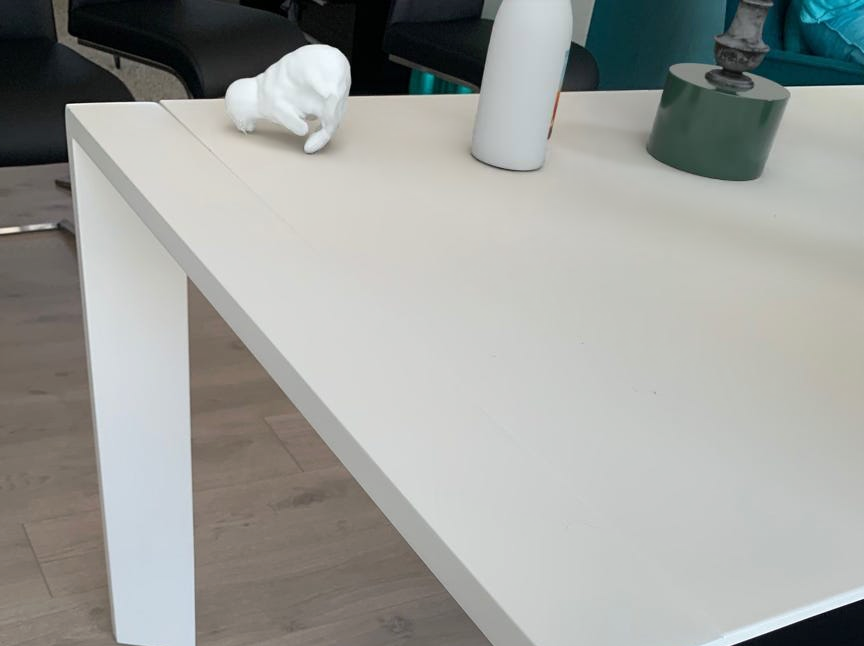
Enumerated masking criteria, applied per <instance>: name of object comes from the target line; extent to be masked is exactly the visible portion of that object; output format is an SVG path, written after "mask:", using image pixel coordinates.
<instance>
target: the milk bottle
mask: <svg viewBox="0 0 864 646" xmlns="http://www.w3.org/2000/svg"><path fill="white" fill-rule="evenodd" d="M573 18H574V17H573V9H572V2H571V0H502V2H501V3H500V6H499V7H498V10H497V13H496V15H495V19H494V22H493V25H492V30H491V34H490V39H489V44H488V48H487V53H486V58H485V64H484V69H483V75H482V80H481V86H480V91H479V97H478V102H477V106H476V107H477V108H476V113H475V119H474V123H473V130H472V136H471V141H470V142H471V143H470V151H471V154H472V156H473V157H474V158H475V159H477V160H479V161H481V162H482V163H485V164H488V165H491V166H494V167H497V168H502V169H506V170H514V171H533V170H537V169H539V168H542V166H543V164H544V163H545V162H546V161H545V160H546V157H547V153H548V150H549V145H550V141H551V136H552V131H553V127H554V123H555V119H556V115H557V111H558V106H559V102H560V98H561V97H560V96H561V92H562V88H563V83H564V80H565V79H564V78H565V73H566V68H567V64H568V61H569V60H568V59H569V55H570V50H571V45H572V43H571V42H572V37H573V30H574V29H573V27H574V26H573V25H574V24H573V23H574V19H573Z"/></svg>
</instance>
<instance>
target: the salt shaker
mask: <svg viewBox="0 0 864 646" xmlns="http://www.w3.org/2000/svg"><path fill="white" fill-rule="evenodd" d="M738 1H739V3H738V6H737V9H736V12H735V15H734V18H733V20H732V22H731V24H730V26H729V27H728V29H727V31H725V32H723V33H722V34H721V33H720V34H715V35H713V41H715V42H714V45H713V58H714V61H715V63H716V64H717V66H721V67H723V69H713V70H711V71H709V72H707V73H705V76H706V77H707V78H708V79H710V80H712V81H714V82H717V83H720V84H724V85H728V86H733V87H739V88H752V87H754V85H755V84H754V82H753V81H752V79H751V78H750V77H748V76H746V75H744V74H743V73H742V72H747V73H749V72H752V71H753V70H754V69H756V68H757V67H759V65H760V64H761V63H762V61H763V60H764V58H765V55H766V53H769V51H770V50H771V48H770V46H768V44H765V42H764V40H763V39H762V37H763V28H764V24H765V21H766V19H767V15H768V12H769V9H770V8H771V7H773V6H774V2H773V1H772V0H738Z"/></svg>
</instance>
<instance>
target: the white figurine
mask: <svg viewBox="0 0 864 646" xmlns="http://www.w3.org/2000/svg"><path fill="white" fill-rule="evenodd" d="M351 75H352V74H351V65H350V62H349V60H348V58H347V57H346V56H345V53H342V51H340V50H339V48H336V47H333V46H330V45H328V44H307V45H303V46H301V47H299V48H297V49H296V50H294V51H292V52H289V53H286V54H285V55H284V56H282V57H281V58H280V59H279V60H278V61H276V62H274V63H273V64H271V65H270V66H268V68H267V69H266V70H265V71H264V72H262V73H259V74H258V75H256V76H254V77H246V78H240V79H237V80H235V81H233V82H232V83H231V84H230V85H229V86H228V88H227V90H226V93H225V97H224V105H225V110H226V112H227V114H228V116H229V117H230V118H231V119H232V121H233V122H234V124H235V126H236V128H237V130H238V131H239V132H243V133H244V134H245V135H248V133H247V132H253V131H254V130H255V128H256V127H255V126H256V125H258V124H257V122H259V121H261V120H263V119H264V120H266V121H269V122H271V123H273V124H276V125H281V126H283V127H284V128H286V129H287V130H288V131H290V132H292V133H293V134H295V135H297V136H300V137H304V136H306V135H307V134H308V132H309V125H308V123H307V121H309V122H313V121H316V120H318V119H319V120H320V124H318V125H317V126H316V127H315V128H314V132H313V133H312V134H310V135H309V136H308V138H307V139H306V141H305V143H304V145H303V151H304V153H307V154H313V153H316V152H317V151H318V152H319V151H320V150H321V149H323V148H324V147H325V146H326V145H327V143H328V142H330V140H331V139H332V137H333V135H334V133H335V131H336V130H338V129H339V128H340V126H341V124H342V123H343V120H344V119H345V116H346V114H347V110H348V100H349V95H350V89H351V85H352V76H351ZM305 120H306V121H305Z"/></svg>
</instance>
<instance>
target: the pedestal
mask: <svg viewBox="0 0 864 646" xmlns="http://www.w3.org/2000/svg"><path fill="white" fill-rule="evenodd" d="M713 69H723V67H721V66H720V65H714V64H709V63H708V64H707V63H696V62H681V63H676V64H673V65H671V66H670V67H669V69H668V73H667V75H666V79H665V83H664V86H663V88H662V89H663V90H662V93H661V96H660V100H659V104H658V107H657V111H656V114H655V117H654V121H653V123H652V126H651V127H652V128H651V131H650V134H649V138H648V141H647V145H646V150H647V152H648V153H649V154H650V156H652V157H654V158H655V159H657V160H658V161H659V162H662V163H663V164H666V165H667V166H669V167H673V168H674V169H676V170H677V169H678V170H680V171H682V172H686V173H689V174H693V175H696V176H702V177H706V178H710V179H711V178H712V179H717V180H724V181H725V180H726V181H751V180H755V179H758V178H760V177H761V176H762V174H763V172H764V169H765V166H766V164H767V161H768V158H769V156H770V153H771V150H772V147H773V145H774V142H775V139H776V137H777V135H778V132H779V129H780V126H781V124H782V120H783V118H784V115H785V113H786V109H787V107H788V104H789V101H790V99H791V92H790V91H789V90H788V89H787V87H784V86H783V85H781V84H780V83H778V82H775V81H774V80H771V79H768V78H766V77H764V76H760V75H757V74H754V73H751V72H742V73H743V74H744V75H746V76H748V77H750V78H751V79H752V81H753V82H754V84H755V85H754V87H752V88H739V87H733V86H728V85H724V84H720V83H717V82H714V81H712V80H710V79H708V78H707V77H706V76H705V73H707V72H709V71H711V70H713Z"/></svg>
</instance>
